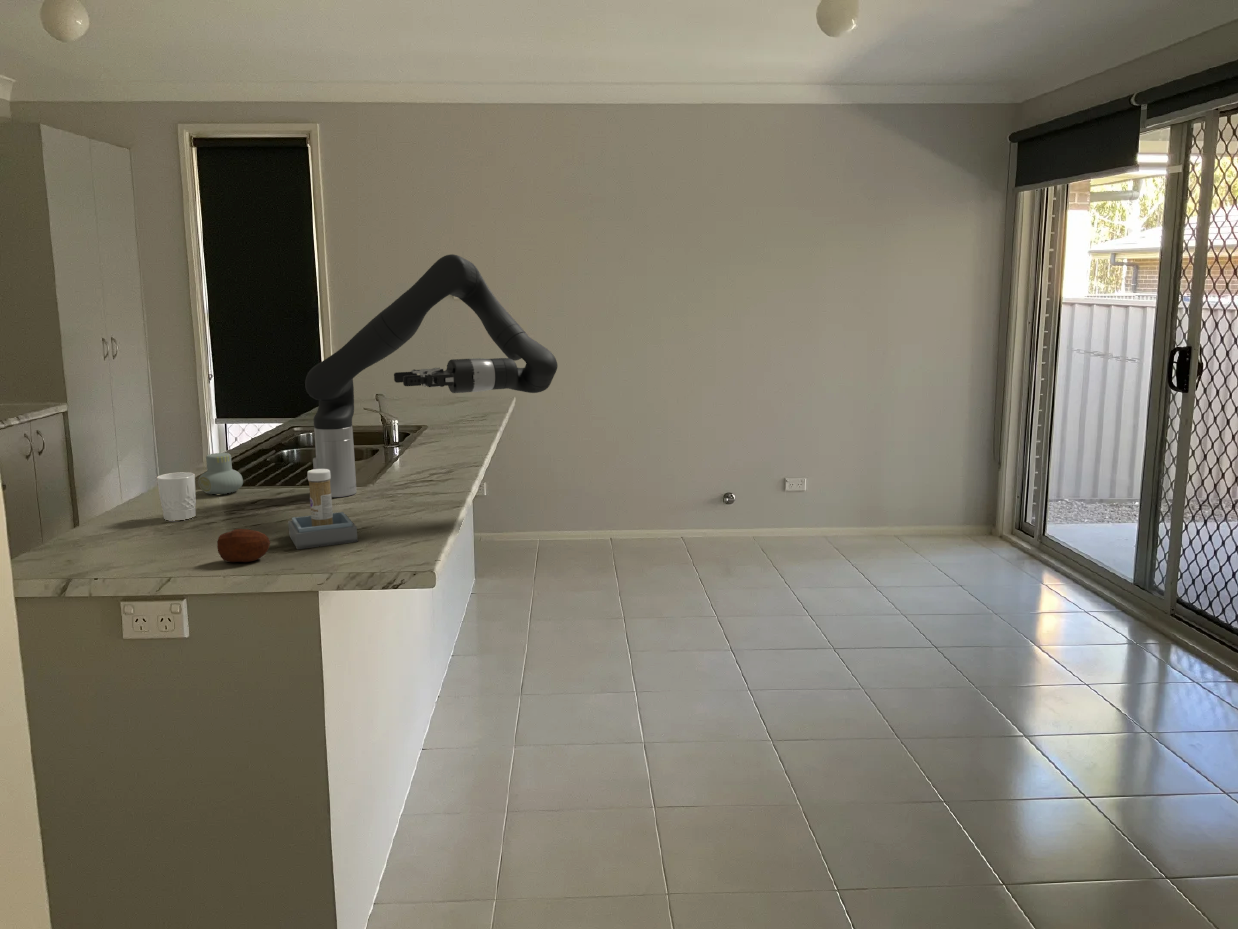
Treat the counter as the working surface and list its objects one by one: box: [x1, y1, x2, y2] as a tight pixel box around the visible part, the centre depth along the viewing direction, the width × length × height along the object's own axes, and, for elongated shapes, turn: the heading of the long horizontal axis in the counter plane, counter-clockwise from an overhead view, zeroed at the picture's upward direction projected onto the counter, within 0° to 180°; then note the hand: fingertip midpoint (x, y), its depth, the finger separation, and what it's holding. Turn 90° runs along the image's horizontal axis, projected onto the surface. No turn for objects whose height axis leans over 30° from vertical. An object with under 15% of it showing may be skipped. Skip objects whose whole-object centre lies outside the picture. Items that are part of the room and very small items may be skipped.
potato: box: [216, 528, 271, 563], centre depth 187 cm, size 7×9×6 cm
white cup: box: [156, 471, 197, 522], centre depth 221 cm, size 8×8×10 cm
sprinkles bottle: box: [306, 468, 334, 527], centre depth 201 cm, size 5×5×14 cm
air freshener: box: [198, 452, 244, 495], centre depth 247 cm, size 11×8×10 cm
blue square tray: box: [287, 511, 359, 550], centre depth 202 cm, size 12×12×4 cm
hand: (398, 379), depth 209 cm, fingers open, 8 cm apart
